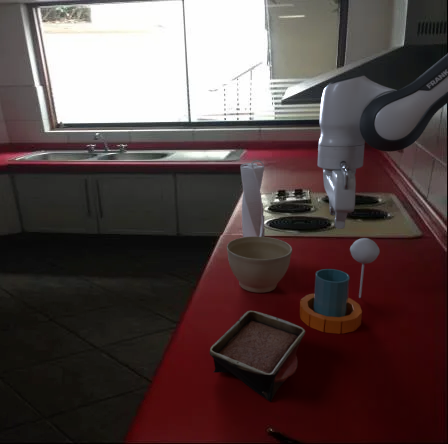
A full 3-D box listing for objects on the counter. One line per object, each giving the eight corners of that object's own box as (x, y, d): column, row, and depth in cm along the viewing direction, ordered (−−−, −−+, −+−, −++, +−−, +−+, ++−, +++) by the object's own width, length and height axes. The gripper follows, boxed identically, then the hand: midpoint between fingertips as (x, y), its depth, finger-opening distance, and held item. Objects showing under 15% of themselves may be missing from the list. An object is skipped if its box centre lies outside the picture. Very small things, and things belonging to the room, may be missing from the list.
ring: (354, 306, 97) (356, 294, 96) (365, 336, 85) (366, 323, 84) (298, 302, 100) (299, 290, 99) (301, 330, 89) (302, 318, 88)
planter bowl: (284, 304, 99) (286, 262, 96) (219, 294, 106) (218, 254, 103) (294, 276, 113) (296, 239, 110) (236, 269, 120) (236, 233, 116)
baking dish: (312, 374, 78) (315, 323, 77) (266, 417, 65) (268, 357, 64) (245, 351, 88) (246, 306, 86) (193, 385, 75) (193, 332, 73)
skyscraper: (266, 247, 134) (268, 160, 125) (240, 247, 135) (240, 161, 127) (264, 238, 142) (265, 156, 133) (240, 238, 143) (240, 157, 135)
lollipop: (375, 294, 101) (382, 236, 97) (373, 305, 96) (379, 245, 92) (347, 289, 104) (352, 233, 100) (344, 300, 100) (349, 241, 95)
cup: (343, 309, 96) (346, 269, 92) (348, 325, 89) (351, 283, 86) (311, 307, 97) (314, 268, 94) (314, 322, 91) (317, 281, 88)
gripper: (366, 166, 77) (361, 237, 81) (348, 150, 96) (345, 208, 100) (329, 167, 79) (326, 236, 83) (319, 151, 97) (317, 208, 102)
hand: (336, 220), depth 91 cm, fingers open, 8 cm apart
